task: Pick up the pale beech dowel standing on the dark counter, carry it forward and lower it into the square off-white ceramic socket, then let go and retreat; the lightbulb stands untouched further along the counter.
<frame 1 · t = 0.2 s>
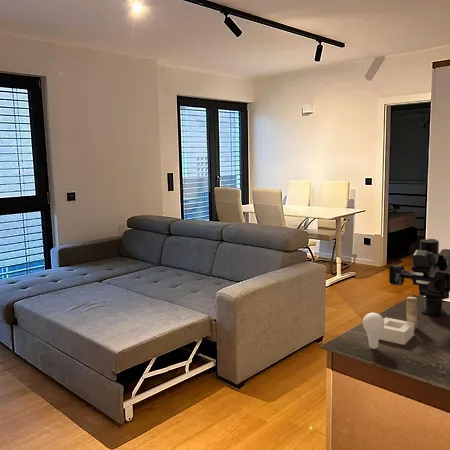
hand: (411, 285, 139), 17 cm above the table, tool horizontal, fingers open, 9 cm apart
dowel: (411, 327, 148), on the table
lightbulb: (373, 349, 134), on the table
socket: (394, 336, 142), on the table
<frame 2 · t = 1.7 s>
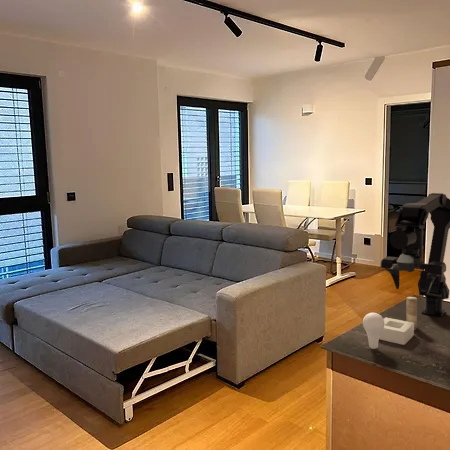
hand: (412, 291, 146), 12 cm above the table, tool pointing down, fingers open, 9 cm apart
nothing on the table moved.
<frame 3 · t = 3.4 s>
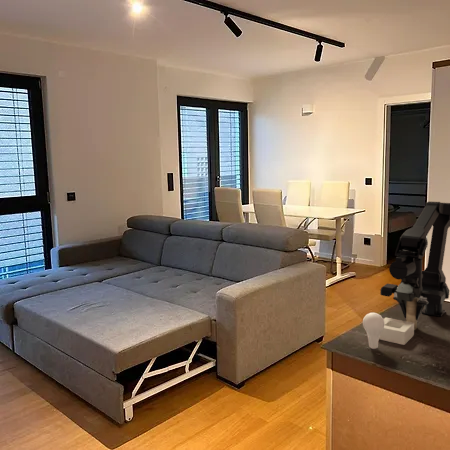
hand: (411, 318, 148), 3 cm above the table, tool pointing down, fingers closed on dowel, 3 cm apart
dowel: (411, 327, 148), on the table, touching gripper
everything else where it was.
when the fingers open (5 cm above the table, at t = 6.8 s): dowel drops 1 cm, resting on socket.
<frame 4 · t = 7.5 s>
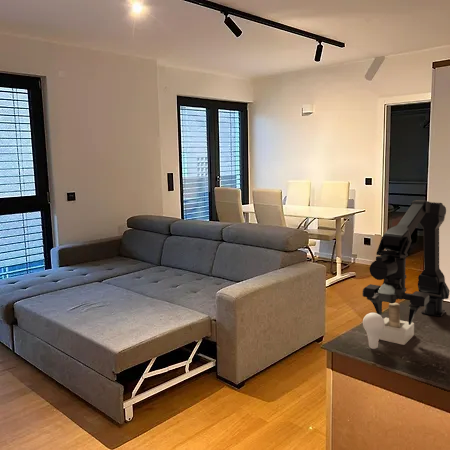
hand: (394, 321, 141), 5 cm above the table, tool pointing down, fingers open, 9 cm apart
dowel: (394, 334, 142), point 1 cm above the table, touching socket
everything else where it was.
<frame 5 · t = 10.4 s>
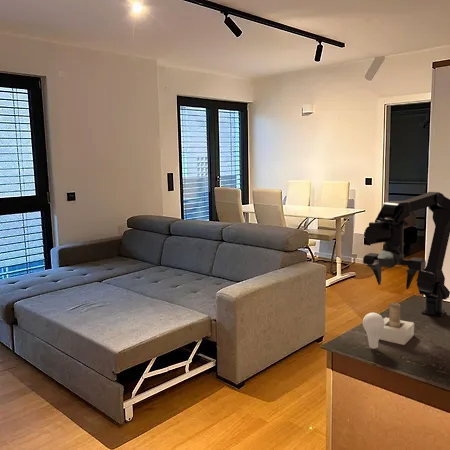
hand: (393, 286, 150), 13 cm above the table, tool pointing down, fingers open, 9 cm apart
nothing on the table moved.
at the end: dowel 0.0 cm off-centre on the socket, point 0.5 cm above the socket's base; dowel tilted 0°; the gripper is holding nothing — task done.
